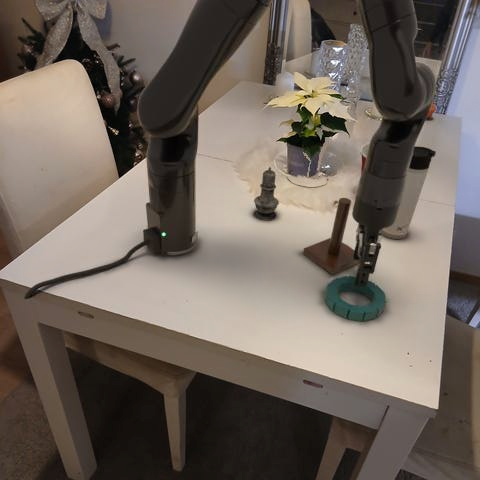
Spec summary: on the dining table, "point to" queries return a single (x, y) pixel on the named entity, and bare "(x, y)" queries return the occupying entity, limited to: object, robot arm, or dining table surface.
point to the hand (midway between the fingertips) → (359, 271)
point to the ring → (354, 310)
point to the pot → (431, 110)
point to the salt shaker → (266, 197)
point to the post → (334, 244)
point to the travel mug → (410, 192)
